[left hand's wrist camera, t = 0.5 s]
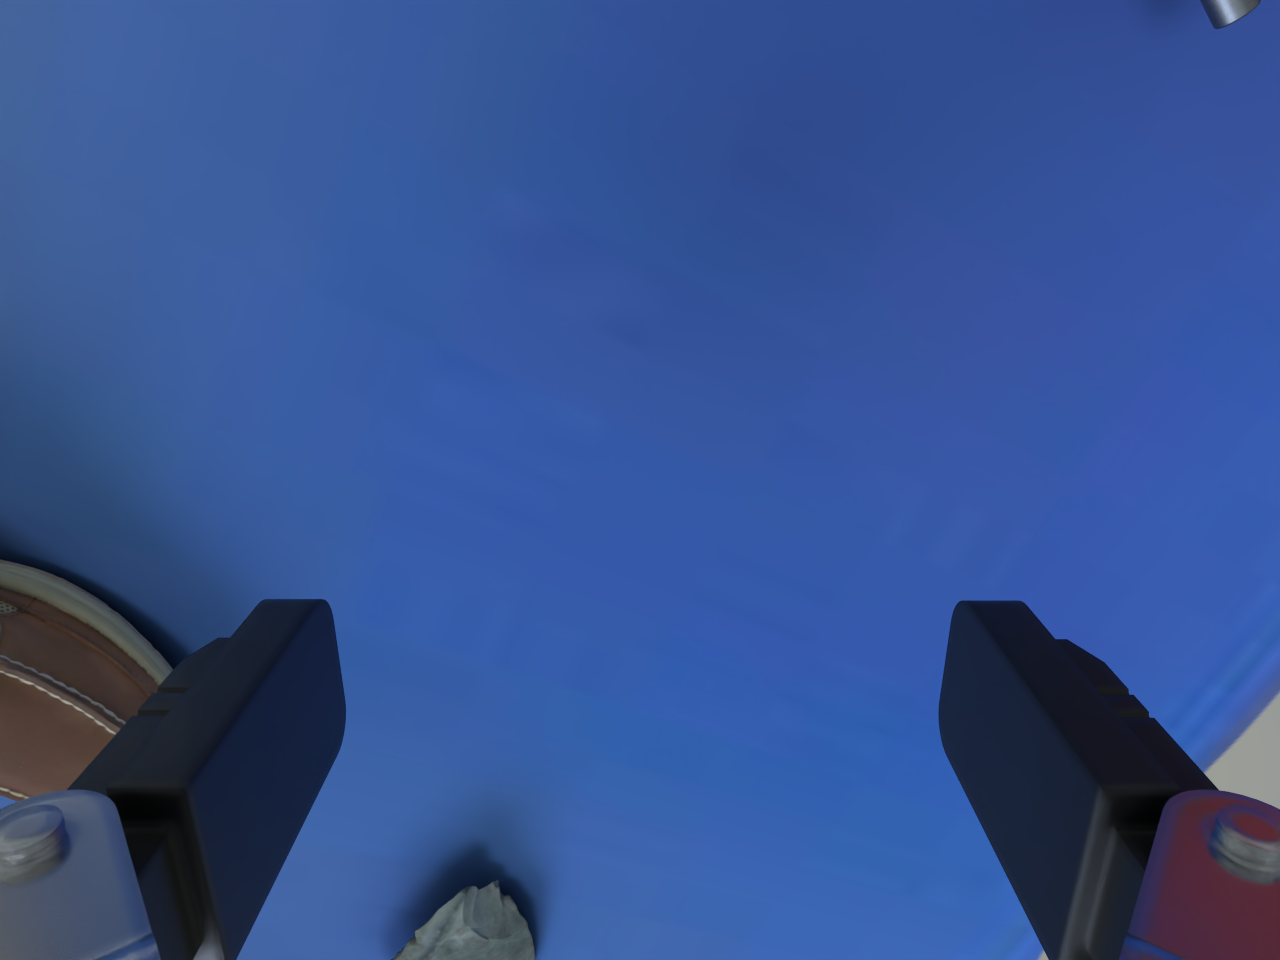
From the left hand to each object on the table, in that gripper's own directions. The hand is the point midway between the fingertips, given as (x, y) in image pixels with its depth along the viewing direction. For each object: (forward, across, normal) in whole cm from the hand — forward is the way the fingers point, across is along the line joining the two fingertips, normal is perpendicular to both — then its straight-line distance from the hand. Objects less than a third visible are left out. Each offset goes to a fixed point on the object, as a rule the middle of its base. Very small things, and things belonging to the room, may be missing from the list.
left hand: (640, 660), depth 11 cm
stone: (+28, +10, +36) cm, 47 cm away
